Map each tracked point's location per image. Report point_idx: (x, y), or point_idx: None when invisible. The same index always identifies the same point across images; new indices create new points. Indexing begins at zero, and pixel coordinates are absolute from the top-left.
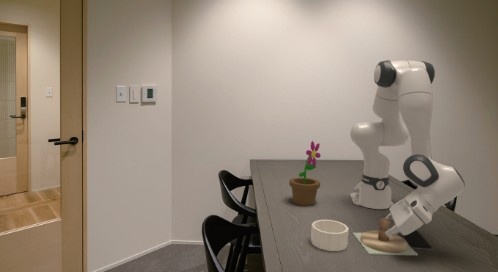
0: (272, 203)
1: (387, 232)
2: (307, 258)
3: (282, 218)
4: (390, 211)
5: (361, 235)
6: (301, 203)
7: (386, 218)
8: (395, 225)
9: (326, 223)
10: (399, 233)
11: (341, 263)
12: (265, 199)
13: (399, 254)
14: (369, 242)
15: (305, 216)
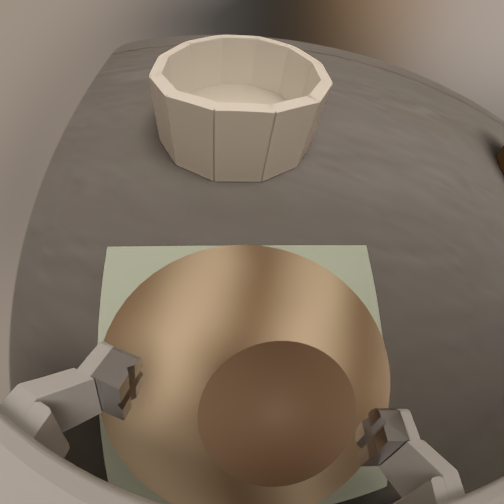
0: (467, 110)
1: (90, 357)
2: (132, 77)
3: (396, 86)
4: (468, 496)
5: (297, 257)
6: (502, 159)
7: (413, 451)
8: (18, 421)
9: (313, 83)
10: (396, 500)
11: (78, 139)
12: (476, 109)
13: (101, 417)
14: (190, 272)
15: (444, 139)
